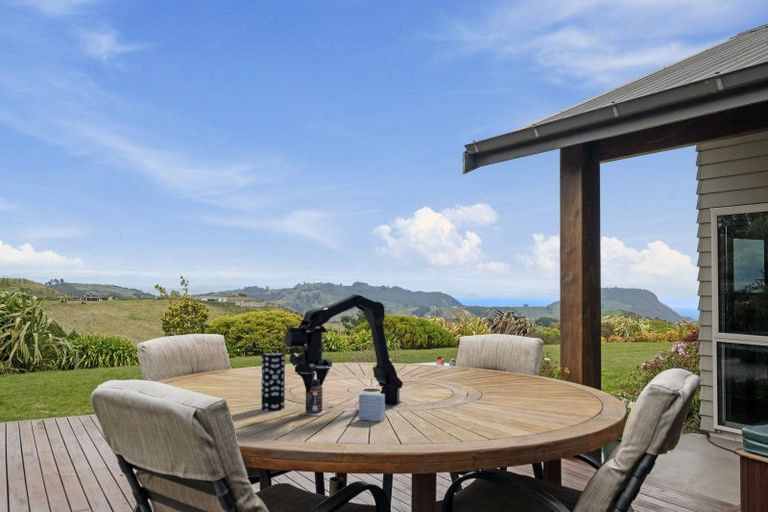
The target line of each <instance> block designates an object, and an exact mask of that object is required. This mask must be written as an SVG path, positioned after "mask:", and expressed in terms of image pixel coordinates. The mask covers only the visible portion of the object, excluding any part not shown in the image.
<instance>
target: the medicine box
mask: <svg viewBox="0 0 768 512" xmlns="http://www.w3.org/2000/svg"><path fill="white" fill-rule="evenodd" d="M385 405H386V404H385V394H380V393H379V392H378V393H376V392H375V393H374V392H372V393H371V392H362V393H360V394H359V395H358V407H359V408H358V413H359V414H358V415H359V418H358V421H363V420H370V421H369V422H377V421H379V422H383V421H384V420H386V407H385Z"/></svg>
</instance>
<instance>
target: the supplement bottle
mask: <svg viewBox="0 0 768 512" xmlns="http://www.w3.org/2000/svg"><path fill="white" fill-rule="evenodd" d="M323 391H324V390H323V385H322V386H321V385H320V380H318V379H317V378H314V380H313V383H312V387H311V390H310V392H307V391H306V390H305V411H306V412H307V413H320V412H322V410H323Z"/></svg>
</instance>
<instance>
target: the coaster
mask: <svg viewBox="0 0 768 512" xmlns="http://www.w3.org/2000/svg"><path fill="white" fill-rule="evenodd" d="M327 412H328V413H329V412H330V411H329V410H324V409H322V412H320V413H307V412H306V410H305V411H302V412H300V413H298V416H304V415H310V416H309V417H318V416H320V417H322V416H323V414H324V415H326V414H328V413H327ZM325 413H326V414H325ZM321 415H322V416H321Z"/></svg>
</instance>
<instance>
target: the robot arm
mask: <svg viewBox="0 0 768 512" xmlns="http://www.w3.org/2000/svg"><path fill="white" fill-rule="evenodd" d="M353 308H357V309H358V310H360V311H362V313H363V315H364V318H365V320H366V321H367V323H368V325H369V326H370V331H371V336H372V337H371V338H372V342H373V347H374V352H375V358H376V365H375V366H373V367H372V371H373V378H375V379H376V382H378V385H379V387H381V391H380V392H379V394H385V405H387V406H388V405H389V406H397V405H399V404H401V402H402V401H401V400H400V389H402V388H403V384H404V382H403V381H402V380H401V379H400V378H399V377H398V373H397V371H396V368H395V366H394V365H393V363H392V361H391V360H390V354H389V350H388V346H387V338H386V333H385V329H384V320H385V317H386V316H385V313H386V312H385V306H384V304H383V303H382V302H381V301H374V300H372V299H370V298H367V297H364V296H362V295H361V294H351V295H350V296H348V297H346V298H343V299H341V300H339V301H337V302H333V303H332V304H329V305H328V306H325V307H324V306H323V307H320V308H315V309H309V310H307V311H306V312H304V315H303V319H302V320H301V321H300V324H299V325H298V327H290V326H289V327H287V329H286V332H285V335H284V344H285V346H286V348H297V347H298V348H299V347H304V346H305V348H303V350H302V353H299V354H297V352H294V353H291V354H290V355H289V363H291V364H292V366H293V367H294V373H296V374H297V375H299V377H301V378H302V381H303V384H304V387H305V392H306V391H307V392H310V390H311V387H312V383H313V380H314V379H315V377H316V379H318V380H320V385H321V386H322V387H323V384H324V382H325V380H326V378H327V375H328V373H329V371H330V370H331V367H333V361H332V360H331V358H323V352H324V351H325V348H324V347H323V333H324V334H326V333H328V332H329V330H328V329H326V328H325V326H324V324H326V323H328V321H330V320H331V318H333V317H335V316H337V315H340V314H342V313H344V312H347V311H348V310H350V309H353Z"/></svg>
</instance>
